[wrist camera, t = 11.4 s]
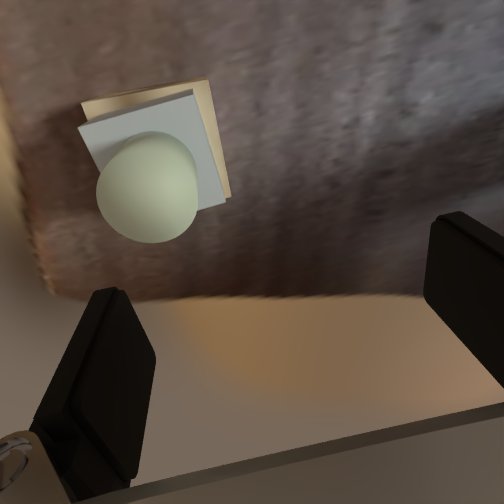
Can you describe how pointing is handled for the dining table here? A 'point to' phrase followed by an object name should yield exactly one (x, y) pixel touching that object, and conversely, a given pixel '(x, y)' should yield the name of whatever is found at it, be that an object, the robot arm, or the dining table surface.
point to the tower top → (163, 120)
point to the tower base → (153, 92)
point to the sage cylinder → (149, 188)
